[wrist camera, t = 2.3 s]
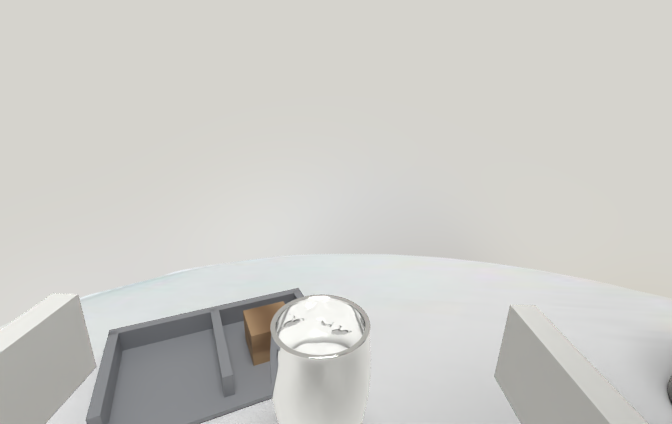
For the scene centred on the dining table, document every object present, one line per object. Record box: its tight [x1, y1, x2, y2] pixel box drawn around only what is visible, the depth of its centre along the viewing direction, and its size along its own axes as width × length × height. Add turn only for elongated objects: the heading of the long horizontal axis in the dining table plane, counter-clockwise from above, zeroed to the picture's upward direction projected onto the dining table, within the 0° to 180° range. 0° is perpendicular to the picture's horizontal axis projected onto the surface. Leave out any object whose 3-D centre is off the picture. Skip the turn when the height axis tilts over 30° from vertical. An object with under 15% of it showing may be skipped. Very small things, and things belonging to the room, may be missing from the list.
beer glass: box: [270, 295, 371, 424], centre depth 25 cm, size 7×7×15 cm
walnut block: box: [243, 301, 285, 366], centre depth 40 cm, size 5×5×4 cm
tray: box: [86, 288, 304, 424], centre depth 38 cm, size 23×14×3 cm, turn 115°
